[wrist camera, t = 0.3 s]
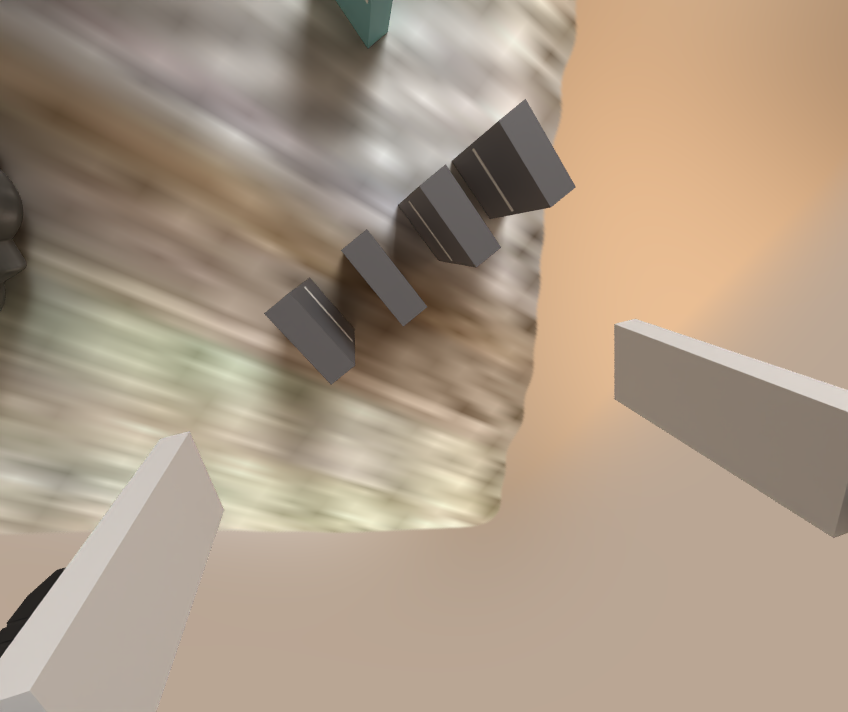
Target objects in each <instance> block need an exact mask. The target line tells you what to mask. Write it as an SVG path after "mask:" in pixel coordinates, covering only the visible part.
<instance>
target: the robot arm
mask: <svg viewBox="0 0 848 712" xmlns="http://www.w3.org/2000/svg"><path fill="white" fill-rule="evenodd" d="M614 327H615V328H614V329H615V330H614V333H615V334H614V335H615V400H617V401H618V402H620V403H622V404H623V405H625V406H626V407H628V408H629V409H631V410H633V411H634V412H636V413H637V414H639V415H640V416H642V417H644V418H645V419H647V420H648V421H650V422H652V423H653V424H655V425H656V426H658V427H659V428H661V429H662V430H664V431H666V432H667V433H669V434H671V435H672V436H674V437H675V438H677V439H678V440H680V441H681V442H683V443H685V444H686V445H688V446H689V447H691V448H692V449H694V450H696V451H697V452H699V453H700V454H702V455H704V456H705V457H707V458H708V459H710V460H712V461H713V462H715V463H716V464H718V465H719V466H721V467H722V468H724V469H726V470H727V471H729V472H730V473H732V474H733V475H735V476H737V477H738V478H740V479H741V480H743V481H745V482H746V483H748V484H749V485H751V486H752V487H754V488H756V489H757V490H759V491H760V492H762V493H763V494H765V495H767V496H768V497H770V498H771V499H773V500H775V501H776V502H778V503H779V504H781V505H782V506H784V507H786V508H787V509H789V510H790V511H792V512H793V513H795V514H797V515H798V516H800V517H801V518H803V519H804V520H806V521H808V522H809V523H811V524H812V525H814V526H815V527H817V528H819V529H820V530H822V531H823V532H825V533H827V534H828V535H830V536H831V537H833V538H835V537H837V536H840V535H843V534H845V533H848V390H846V389H843V388H840V387H837V386H834V385H831V384H828V383H825V382H822V381H819V380H816V379H813V378H810V377H807V376H804V375H801V374H798V373H795V372H792V371H789V370H787V369H784V368H781V367H777V366H775V365H772V364H769V363H766V362H763V361H760V360H757V359H754V358H751V357H747V356H744V355H742V354H739V353H736V352H733V351H730V350H726V349H724V348H721V347H718V346H715V345H712V344H709V343H706V342H703V341H700V340H697V339H694V338H691V337H688V336H685V335H682V334H679V333H676V332H673V331H670V330H667V329H664V328H661V327H658V326H655V325H652V324H649V323H646V322H643V321H640V320H637V319H633V320H629V321H625V322H621V323H617V324H615V326H614ZM223 512H224V508H223V506H222V504H221V501H220V499H219V497H218V495H217V492H216V490H215V488H214V485H213V483H212V481H211V479H210V476H209V474H208V472H207V470H206V467H205V465H204V463H203V460H202V458H201V456H200V454H199V451H198V449H197V447H196V444H195V442H194V440H193V438H192V435H191V433H190V431H188V432H184V433H180V434H176V435H172V436H168V437H165V438H161V439H159V441H158V442H157V444H156V445H155V446H154V448H153V449H152V450H151V452H150V453H149V455H148V456H147V457H146V459H145V460H144V461H143V463H142V464H141V466H140V467H139V468H138V470H137V471H136V472H135V474H134V475H133V476H132V478H131V479H130V481H129V482H128V483H127V485H126V486H125V487H124V489H123V490H122V492H121V493H120V494H119V496H118V497H117V498H116V500H115V501H114V503H113V504H112V505H111V507H110V508H109V509H108V511H107V512H106V514H105V515H104V516H103V518H102V519H101V520H100V522H99V523H98V525H97V526H96V527H95V529H94V530H93V531H92V533H91V534H90V536H89V537H88V538H87V540H86V541H85V543H84V544H83V545H82V546H81V548H80V549H79V551H78V552H77V553H76V555H75V556H74V558H73V559H72V560H71V562H70V563H69V564H68V566H67V567H66V568H62V569H59V570H56V571H55V572H54V573H53V574H52V575H51V576H49V577H48V578H47V579H46V580H45V581H44V582H43V583H42V584H41V585H39V586H38V587H37V588H36V589H35V590H34V591H33V592H32V593H30V594H29V595H28V596H27V597H26V599H25V600H24V601H23V603H22V604H21V605H20V607H19V608H18V609H17V611H16V612H15V613H14V614H13V616H12V617H11V618H10V619H9V621H8V622H7V627H6V628H3V629H2V630H1V631H0V712H156V711H157V708H158V705H159V702H160V699H161V697H162V693H163V691H164V687H165V684H166V681H167V679H168V675H169V673H170V670H171V666H172V664H173V661H174V658H175V655H176V652H177V649H178V646H179V643H180V640H181V637H182V634H183V631H184V628H185V625H186V622H187V619H188V616H189V613H190V610H191V607H192V604H193V601H194V598H195V595H196V592H197V589H198V586H199V583H200V580H201V577H202V574H203V571H204V568H205V566H206V563H207V560H208V557H209V554H210V551H211V548H212V545H213V542H214V539H215V536H216V533H217V530H218V527H219V524H220V521H221V518H222V515H223Z"/></svg>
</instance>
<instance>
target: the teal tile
mask: <svg viewBox="0 0 848 712" xmlns="http://www.w3.org/2000/svg"><path fill="white" fill-rule="evenodd" d="M392 1H393V0H336V2H337V3H338V5H339V6H340V8H341V9H342V11H343V12H344V14H345V15H346V17H347V18H348V20H349V21H350V23H351V24H352V26H353V27H354V29H355V30H356V32H357V33H358V35H359V36H360V38H361V39H362V41H363V42H364V44H365V45H366V47H367V48H369V47H370V46H372V45H373V44H374V43H375V42H376V41H378V40H379V39H380V38H381V37H382V36H384V35H385V34H386V33H387V32H388V26H389V20H390V14H391V8H392Z"/></svg>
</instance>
